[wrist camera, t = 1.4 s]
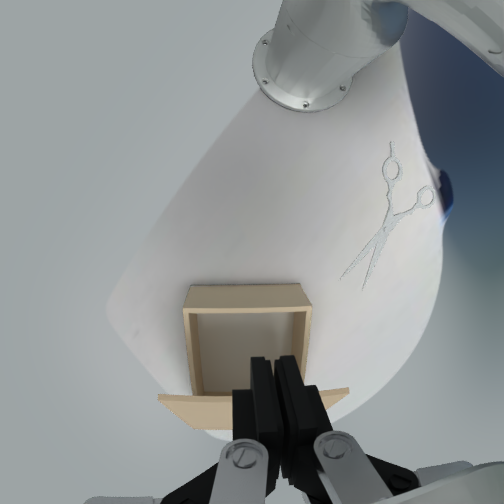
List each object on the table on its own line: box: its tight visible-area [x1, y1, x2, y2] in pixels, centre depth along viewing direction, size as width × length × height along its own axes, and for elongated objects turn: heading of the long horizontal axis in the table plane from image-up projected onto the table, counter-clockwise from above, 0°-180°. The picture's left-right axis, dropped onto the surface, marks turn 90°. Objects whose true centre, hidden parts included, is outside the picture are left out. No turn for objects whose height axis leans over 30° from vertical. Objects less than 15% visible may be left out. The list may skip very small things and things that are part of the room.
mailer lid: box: [158, 387, 349, 430], centre depth 28 cm, size 20×15×1 cm
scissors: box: [340, 142, 436, 290], centre depth 38 cm, size 11×1×20 cm
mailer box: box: [183, 284, 312, 396], centre depth 37 cm, size 18×14×7 cm
